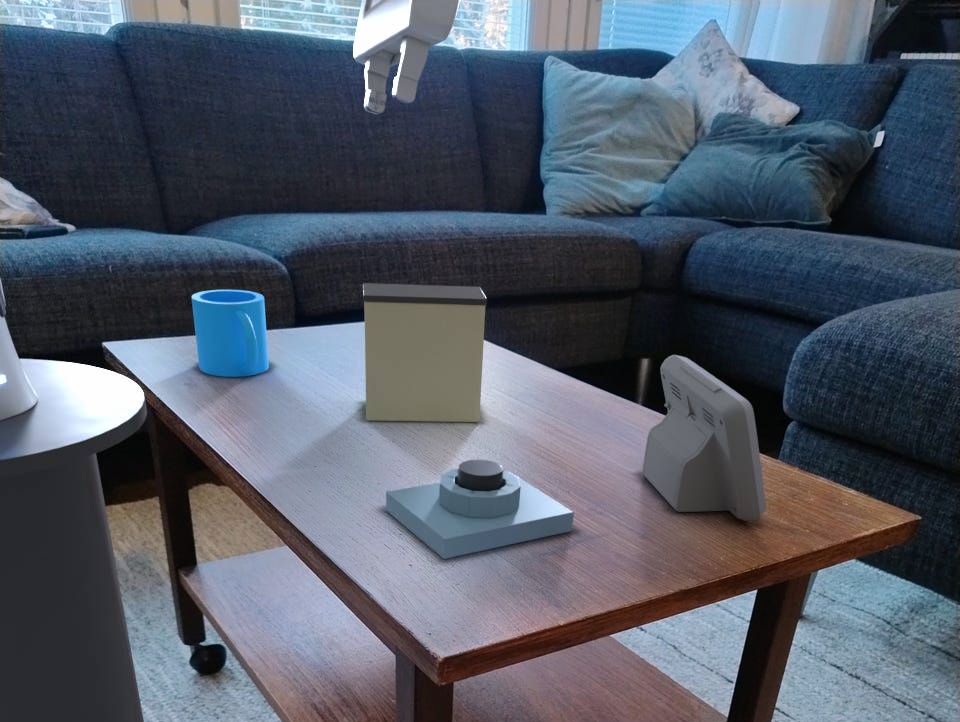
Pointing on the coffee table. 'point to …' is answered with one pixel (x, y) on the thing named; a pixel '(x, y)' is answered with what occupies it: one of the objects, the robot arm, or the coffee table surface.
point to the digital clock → (705, 445)
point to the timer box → (477, 514)
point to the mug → (230, 332)
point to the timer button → (480, 475)
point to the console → (423, 352)
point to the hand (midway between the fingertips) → (387, 107)
